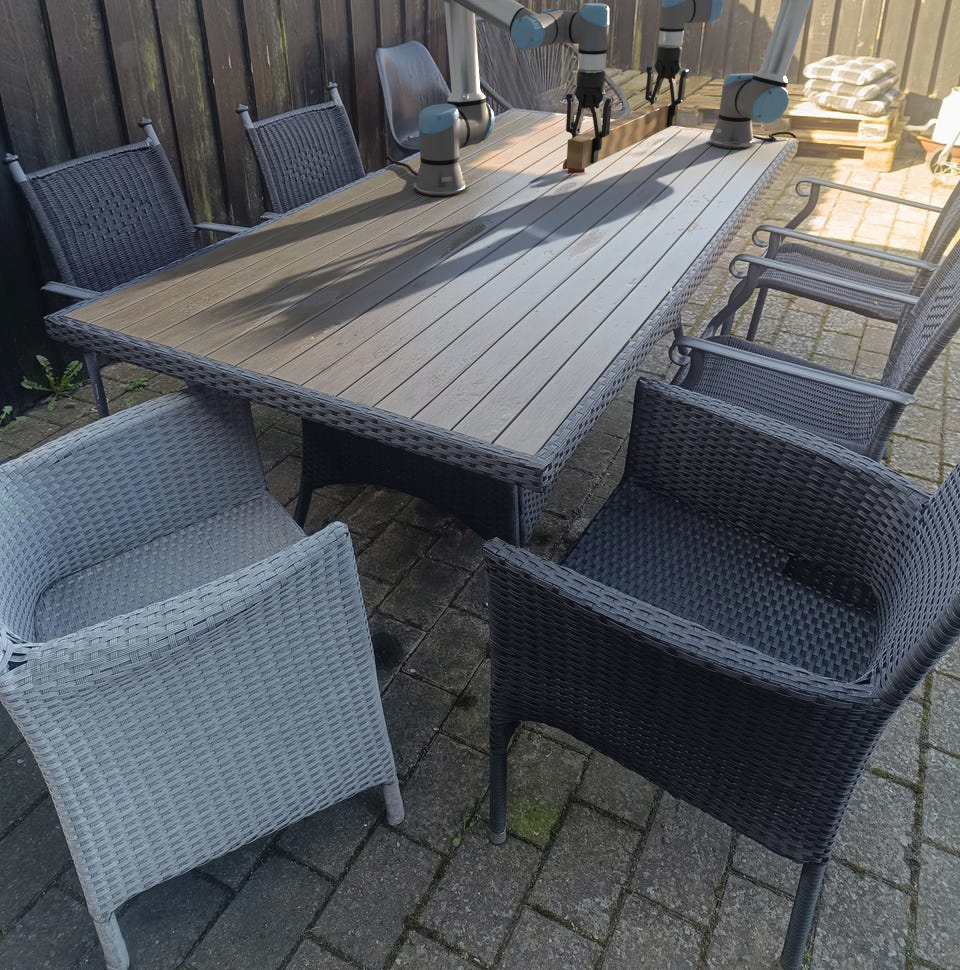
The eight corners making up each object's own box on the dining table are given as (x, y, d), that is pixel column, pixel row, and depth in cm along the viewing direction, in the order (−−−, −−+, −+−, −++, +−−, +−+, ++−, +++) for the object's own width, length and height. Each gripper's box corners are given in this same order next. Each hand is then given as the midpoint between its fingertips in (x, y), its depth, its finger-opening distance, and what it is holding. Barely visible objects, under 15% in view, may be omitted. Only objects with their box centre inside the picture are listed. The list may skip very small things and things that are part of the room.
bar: (581, 169, 232) (583, 142, 228) (566, 167, 235) (567, 139, 230) (675, 124, 280) (678, 100, 276) (662, 122, 282) (665, 98, 278)
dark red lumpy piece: (577, 153, 276) (586, 160, 270) (577, 167, 278) (585, 173, 272) (561, 155, 275) (569, 162, 269) (561, 168, 277) (569, 175, 271)
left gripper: (628, 71, 223) (620, 162, 236) (568, 65, 231) (564, 153, 245) (615, 75, 218) (608, 168, 231) (555, 69, 226) (551, 159, 239)
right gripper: (701, 46, 261) (691, 126, 274) (648, 42, 269) (640, 119, 282) (692, 49, 256) (682, 130, 269) (638, 45, 264) (631, 124, 277)
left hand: (585, 160), depth 238 cm, fingers closed on bar, 5 cm apart
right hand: (661, 125), depth 276 cm, fingers closed on bar, 5 cm apart
